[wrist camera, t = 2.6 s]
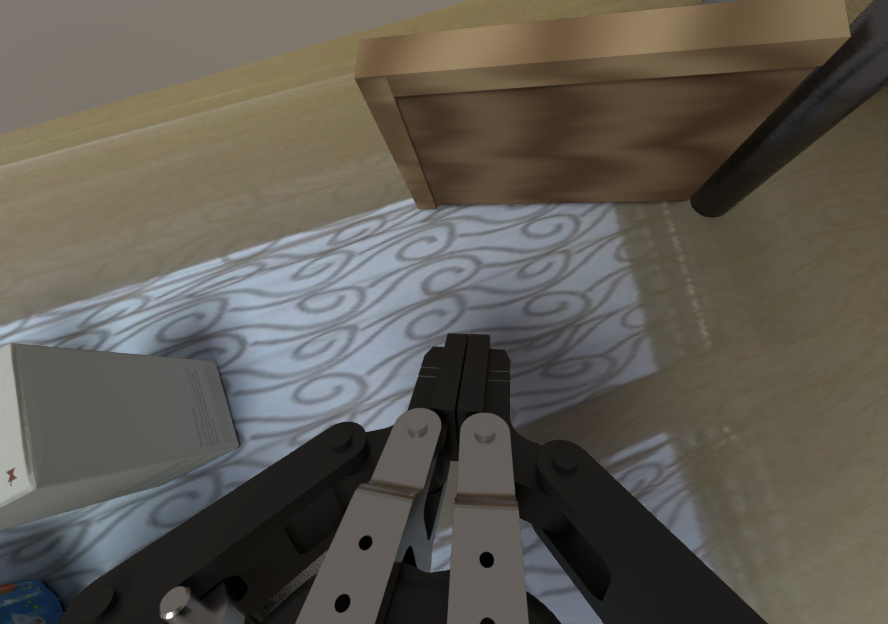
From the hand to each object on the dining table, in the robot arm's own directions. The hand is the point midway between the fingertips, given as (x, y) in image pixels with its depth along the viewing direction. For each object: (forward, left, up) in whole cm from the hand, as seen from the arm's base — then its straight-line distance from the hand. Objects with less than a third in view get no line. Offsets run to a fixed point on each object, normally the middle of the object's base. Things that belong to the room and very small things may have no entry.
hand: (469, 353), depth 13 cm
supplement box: (+23, +5, -13) cm, 27 cm away
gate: (-4, -13, -12) cm, 17 cm away
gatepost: (-15, -13, -13) cm, 23 cm away
